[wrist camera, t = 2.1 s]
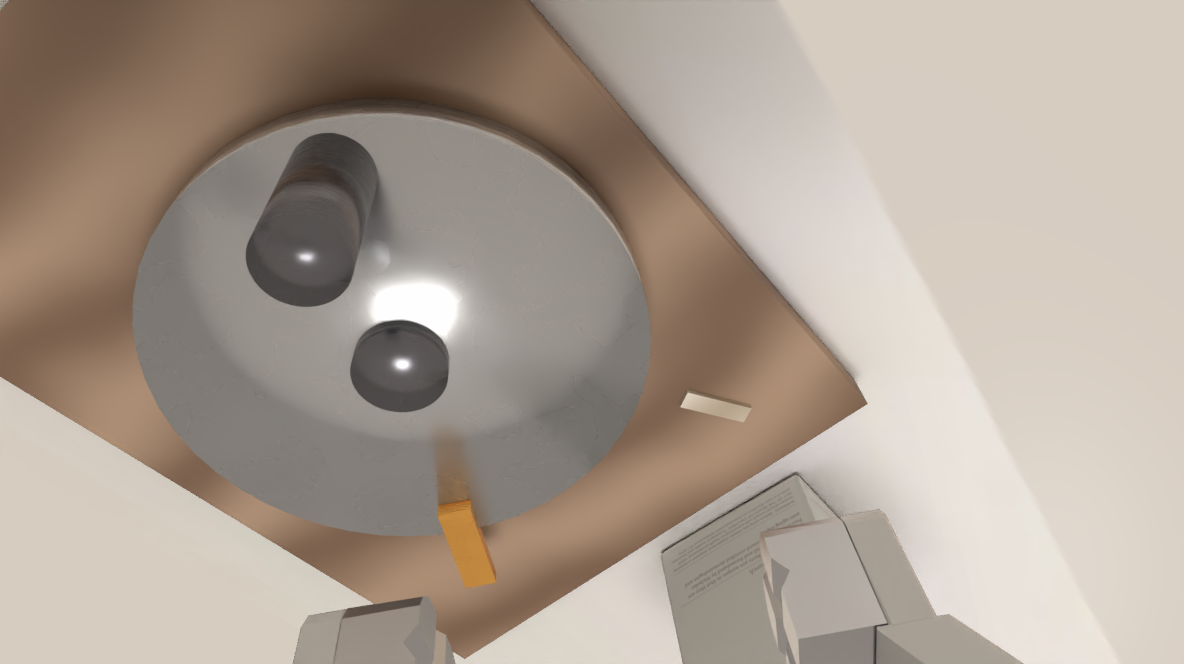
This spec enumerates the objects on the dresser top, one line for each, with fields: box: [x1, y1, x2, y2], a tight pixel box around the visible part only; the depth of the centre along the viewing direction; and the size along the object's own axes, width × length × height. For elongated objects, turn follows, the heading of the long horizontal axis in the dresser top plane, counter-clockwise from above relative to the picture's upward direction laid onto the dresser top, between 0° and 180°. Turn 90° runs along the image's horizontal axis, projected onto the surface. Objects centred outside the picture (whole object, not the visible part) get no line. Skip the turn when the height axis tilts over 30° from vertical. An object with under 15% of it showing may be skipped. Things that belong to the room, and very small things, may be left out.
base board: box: [0, 0, 867, 659], centre depth 30 cm, size 28×21×2 cm
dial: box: [132, 99, 651, 588], centre depth 27 cm, size 18×16×6 cm
